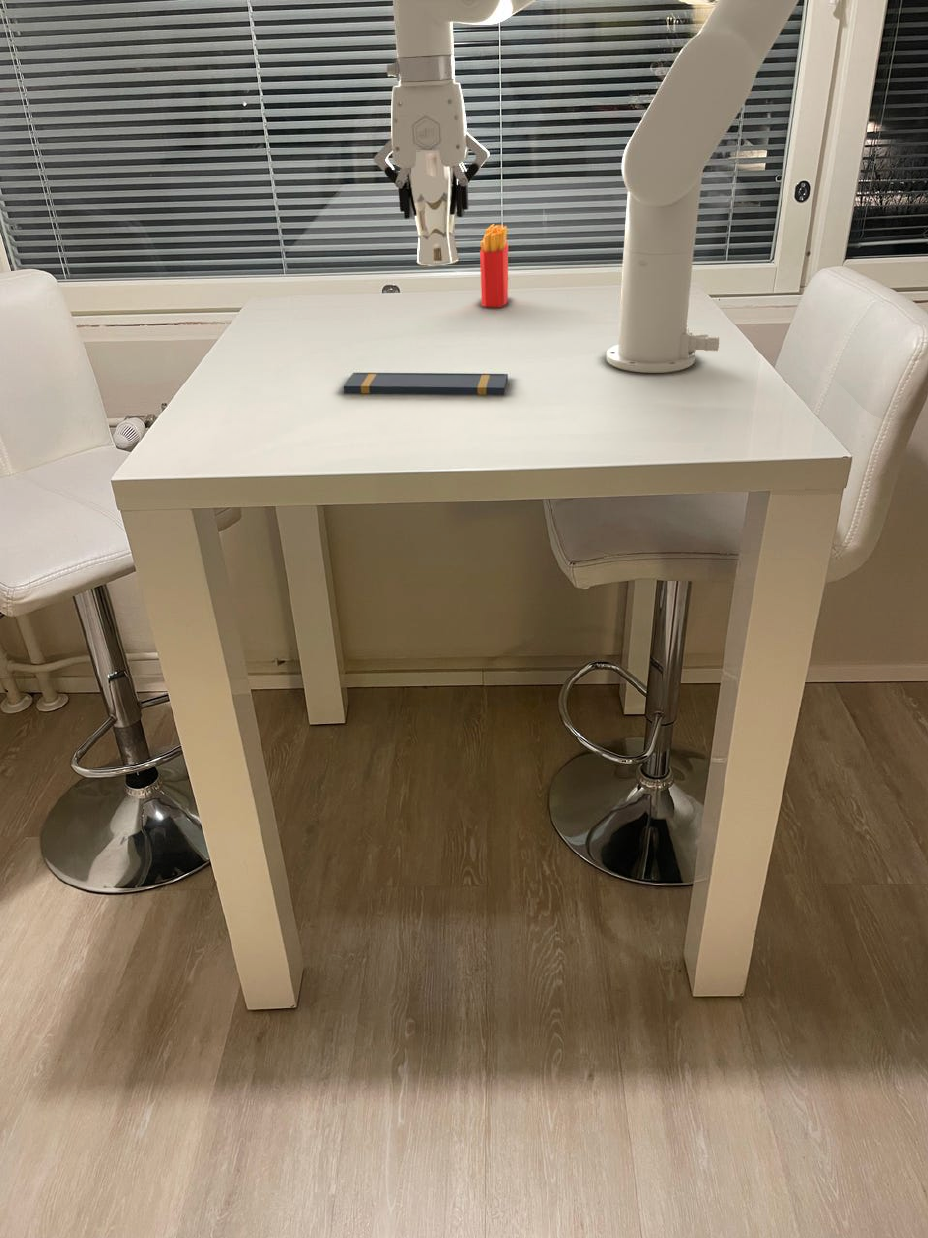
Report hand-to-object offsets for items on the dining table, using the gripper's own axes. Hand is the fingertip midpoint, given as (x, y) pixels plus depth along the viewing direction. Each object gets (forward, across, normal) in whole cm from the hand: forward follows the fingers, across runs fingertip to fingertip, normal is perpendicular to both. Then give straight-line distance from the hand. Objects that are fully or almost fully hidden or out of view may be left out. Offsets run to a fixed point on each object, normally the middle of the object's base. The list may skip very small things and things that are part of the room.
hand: (434, 215), depth 135 cm
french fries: (+20, +5, +31) cm, 37 cm away
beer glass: (+6, 0, 0) cm, 6 cm away
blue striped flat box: (+20, 0, -17) cm, 26 cm away
